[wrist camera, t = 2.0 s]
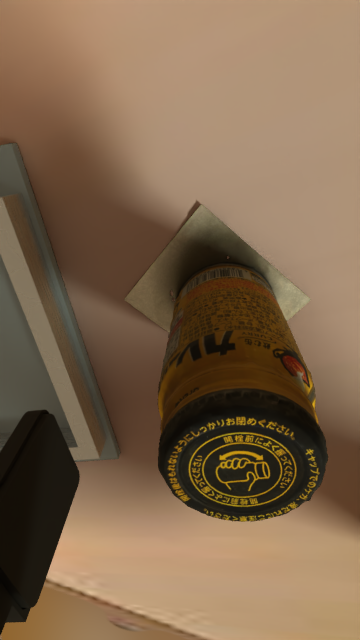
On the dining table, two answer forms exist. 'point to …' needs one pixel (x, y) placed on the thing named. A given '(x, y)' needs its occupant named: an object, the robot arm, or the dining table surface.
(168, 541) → the dining table surface
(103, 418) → the board
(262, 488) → the condiment
